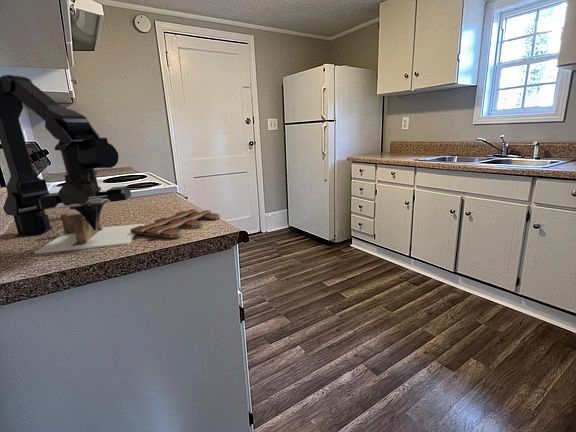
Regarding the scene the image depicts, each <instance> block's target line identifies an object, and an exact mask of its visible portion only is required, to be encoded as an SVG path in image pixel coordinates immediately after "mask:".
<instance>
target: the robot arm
mask: <svg viewBox="0 0 576 432" xmlns="http://www.w3.org/2000/svg"><path fill="white" fill-rule="evenodd" d="M24 105H25V106H26V107H28V108H29V109H30V110H31V111H33V112H34V113H35V114H36V115H38V116H39V117H40V118H41V119H42V120H43V121H44V127H45V129H46V130H47V131H48V132H49V134H50V135H51V136H52V137H53V138H55V140H57V141H58V142H57V144H56V145H55V146H54V150H55V151H56V152H57V151H60V153H61V157H62V161H63V165H64V168H65V171H66V174H64V180H65V184H63V185H62V186H61V188H60V189H59V191H58V192H52V193H50V191H49V190H48V189H49V188H48V186H47V181H46V179H43V178H42V179H41V178H40V177H39V176H37V175H36V174H35V172H34V168H33V164H32V161H31V158H30V157H31V156H30V154H29V149H28V146H27V143H26V140H25V137H24V133H23V129H22V125H21V122H20V116H21V115H22V112H23V110H24ZM0 145H1V148H2V151H3V154H4V157H5V160H6V164H7V167H8V172H9V174H10V177H9V180H8V182H7V184H6V193H7V196H6V199H5V201H4V203H3V207H2V209H3V211H4V213H5V214H6V216H12V217H13V221H14V224H15V227H16V231H17V233H16V234H14V237H27V236H28V237H29V236H38V235H42V234H44V233H46V232H48V231H49V230H52V229H53V226H51V223H50V219H49V216H48V214H46V212H45V210H49V209H55V208H57V206H58V204H63V206H66V207H68V206H69V209H70V210H75V211H77V212H79V214H80V213H81V214H82V215H83V216H84V218H85V219H86V220H87V221H88V223H89V224H90V225H91V227H92V228H93V230H97V227H98V222H99V220H100V217H101V212H102V210H103V206H104V205H105V204H106V203H108V201H110V202H111V203H112V202H113V203H114V202H123V201H126V200H128V199H129V198H130V197H132V192H131V189H130V187H128V185H123V186H113V187H110V188H109V189H107V190H106V191H105V190H104V191H102V188H101V186H99V184H98V183H99V182H98V179H97V175H98V171H97V170H95V169H111V168H114V167H115V166H116V165H118V161H119V152H118V150H117V149H116V148H115V147H114V145H113V144H111V143H109V142H108V138H107V137H101V136H100V135H99V134H98V132H97V131H96V130H95V129H94V127H93V126H92V125H91V124H90V121H89V119H88V118H87V117H86V116H85V115H84V114H82V113H79V112H78V111H76V110H72V109H70V108H66V107H64V106H62V105H60V104H59V103H57V102H56V101H55V100H54V99H53V98H52V97H50V96H49V95H48V94H47V93H45V92H44V91H43V90H42V89H40V88H39V87H38V86H36V85H35V84H34V82H33V81H32V79H30V78H28V77H26V76H22V75H21V76H20V75H13V74H12V75H11V74H5V75H2V76H0ZM88 200H89V201H88ZM87 201H88V202H87Z"/></svg>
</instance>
